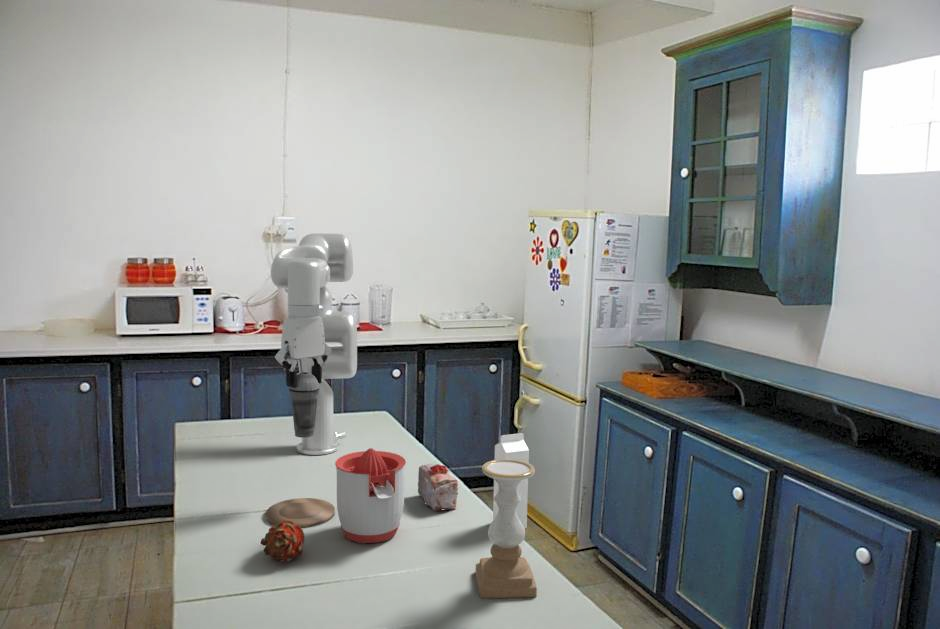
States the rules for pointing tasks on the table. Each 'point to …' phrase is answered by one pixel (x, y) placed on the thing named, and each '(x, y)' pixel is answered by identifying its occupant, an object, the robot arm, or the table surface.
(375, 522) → the citrus juicer
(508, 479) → the candle holder
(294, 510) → the brown round plate
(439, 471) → the food item
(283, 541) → the dragon fruit
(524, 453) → the milk
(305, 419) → the beverage cup
